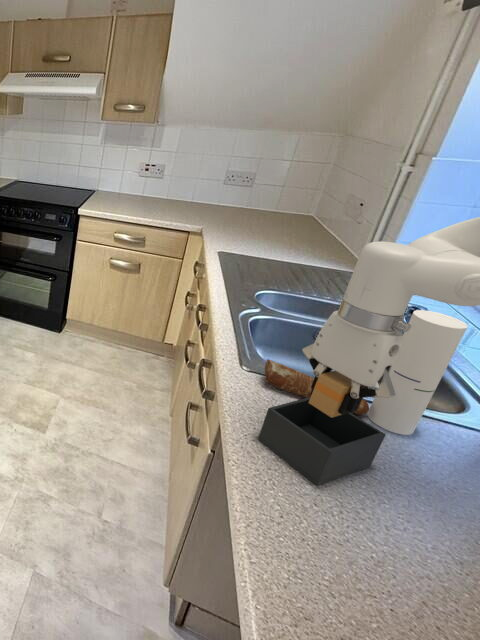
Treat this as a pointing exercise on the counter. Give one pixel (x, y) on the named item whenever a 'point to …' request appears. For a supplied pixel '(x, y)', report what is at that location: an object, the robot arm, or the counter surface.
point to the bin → (320, 440)
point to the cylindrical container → (418, 370)
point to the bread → (296, 382)
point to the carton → (330, 392)
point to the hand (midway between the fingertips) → (331, 402)
